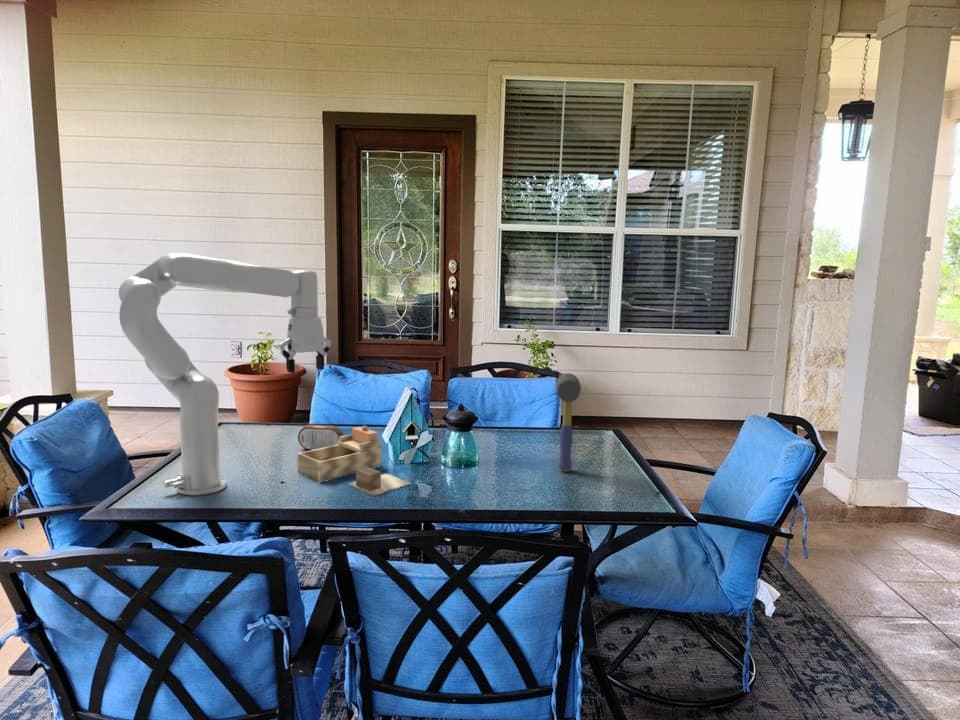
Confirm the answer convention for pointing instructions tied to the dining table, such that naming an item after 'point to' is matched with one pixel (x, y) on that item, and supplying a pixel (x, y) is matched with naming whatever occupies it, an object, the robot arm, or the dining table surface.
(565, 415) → the rubber mallet
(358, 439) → the peach boxy piece
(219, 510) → the dining table surface
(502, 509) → the dining table surface
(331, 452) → the toolbox
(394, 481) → the lid
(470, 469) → the dining table surface
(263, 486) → the dining table surface
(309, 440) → the tin
